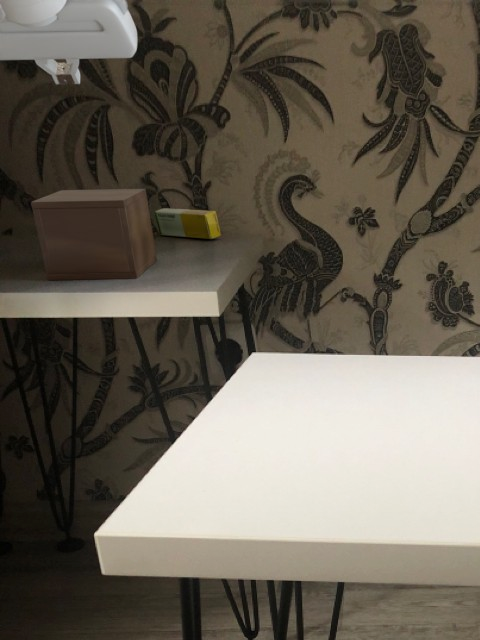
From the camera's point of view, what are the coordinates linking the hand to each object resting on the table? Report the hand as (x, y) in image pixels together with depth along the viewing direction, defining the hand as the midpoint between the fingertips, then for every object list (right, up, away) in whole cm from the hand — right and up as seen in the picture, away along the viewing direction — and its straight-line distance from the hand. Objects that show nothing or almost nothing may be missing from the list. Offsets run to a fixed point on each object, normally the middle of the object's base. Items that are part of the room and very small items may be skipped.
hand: (68, 80), depth 115 cm
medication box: (+5, -5, +37) cm, 38 cm away
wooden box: (0, -19, +13) cm, 23 cm away
